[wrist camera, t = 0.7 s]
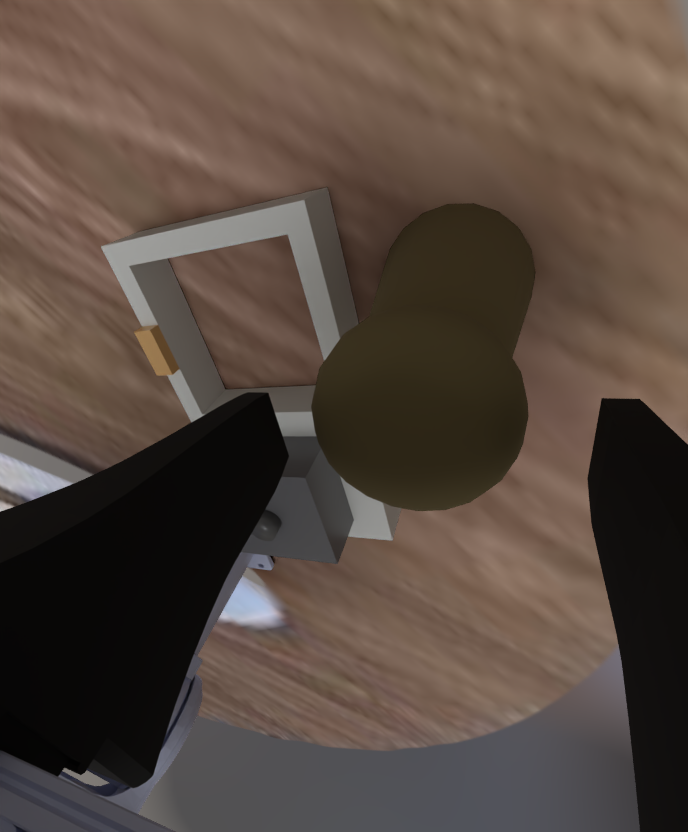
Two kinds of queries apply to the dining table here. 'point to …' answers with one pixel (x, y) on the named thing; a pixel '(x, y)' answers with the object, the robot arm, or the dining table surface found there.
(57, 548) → the robot arm
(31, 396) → the dining table surface
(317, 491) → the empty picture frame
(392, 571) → the dining table surface
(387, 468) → the brown pear
